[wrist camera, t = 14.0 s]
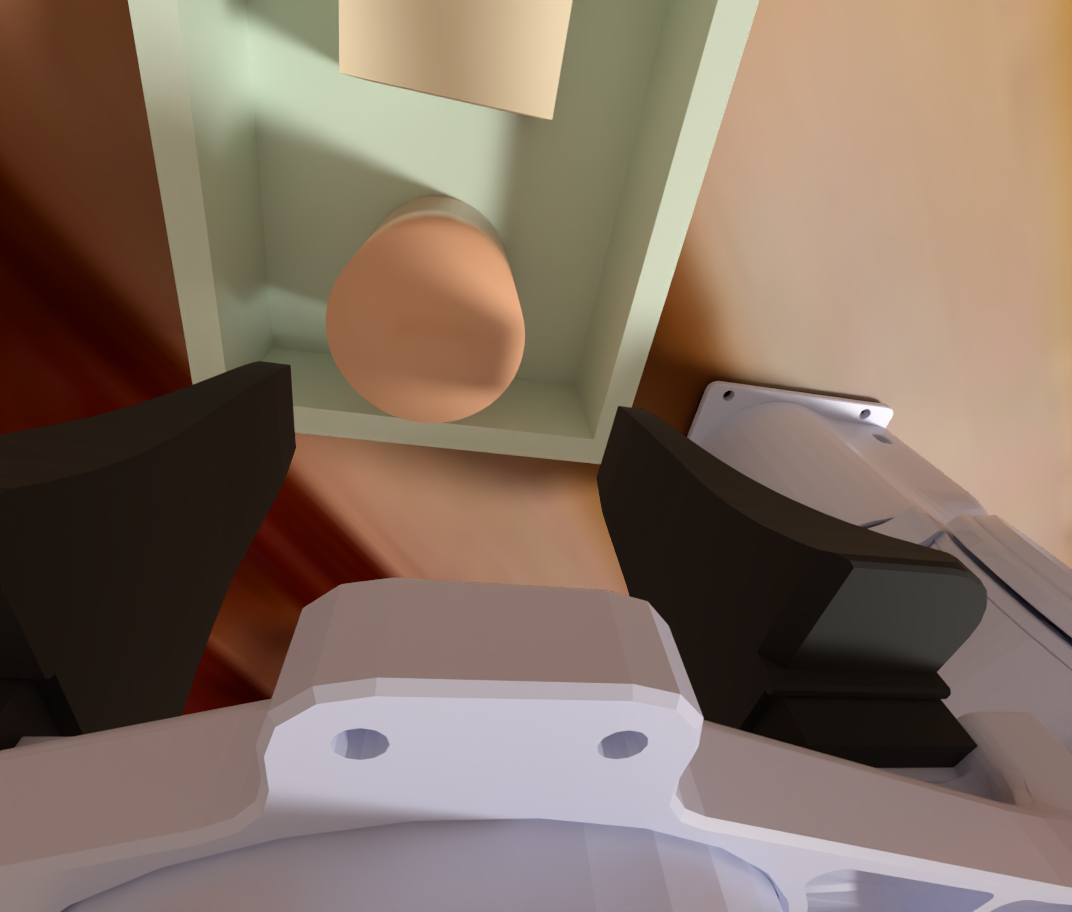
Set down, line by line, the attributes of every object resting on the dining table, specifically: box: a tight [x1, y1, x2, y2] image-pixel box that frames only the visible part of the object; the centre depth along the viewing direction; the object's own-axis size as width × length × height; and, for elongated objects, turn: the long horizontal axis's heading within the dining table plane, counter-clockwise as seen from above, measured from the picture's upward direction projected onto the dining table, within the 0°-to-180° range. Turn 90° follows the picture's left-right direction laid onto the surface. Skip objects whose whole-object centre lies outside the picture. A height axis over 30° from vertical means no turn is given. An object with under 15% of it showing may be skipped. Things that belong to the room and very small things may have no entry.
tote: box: [128, 0, 759, 464], centre depth 16 cm, size 14×18×5 cm
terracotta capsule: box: [326, 195, 525, 423], centre depth 17 cm, size 5×5×7 cm
